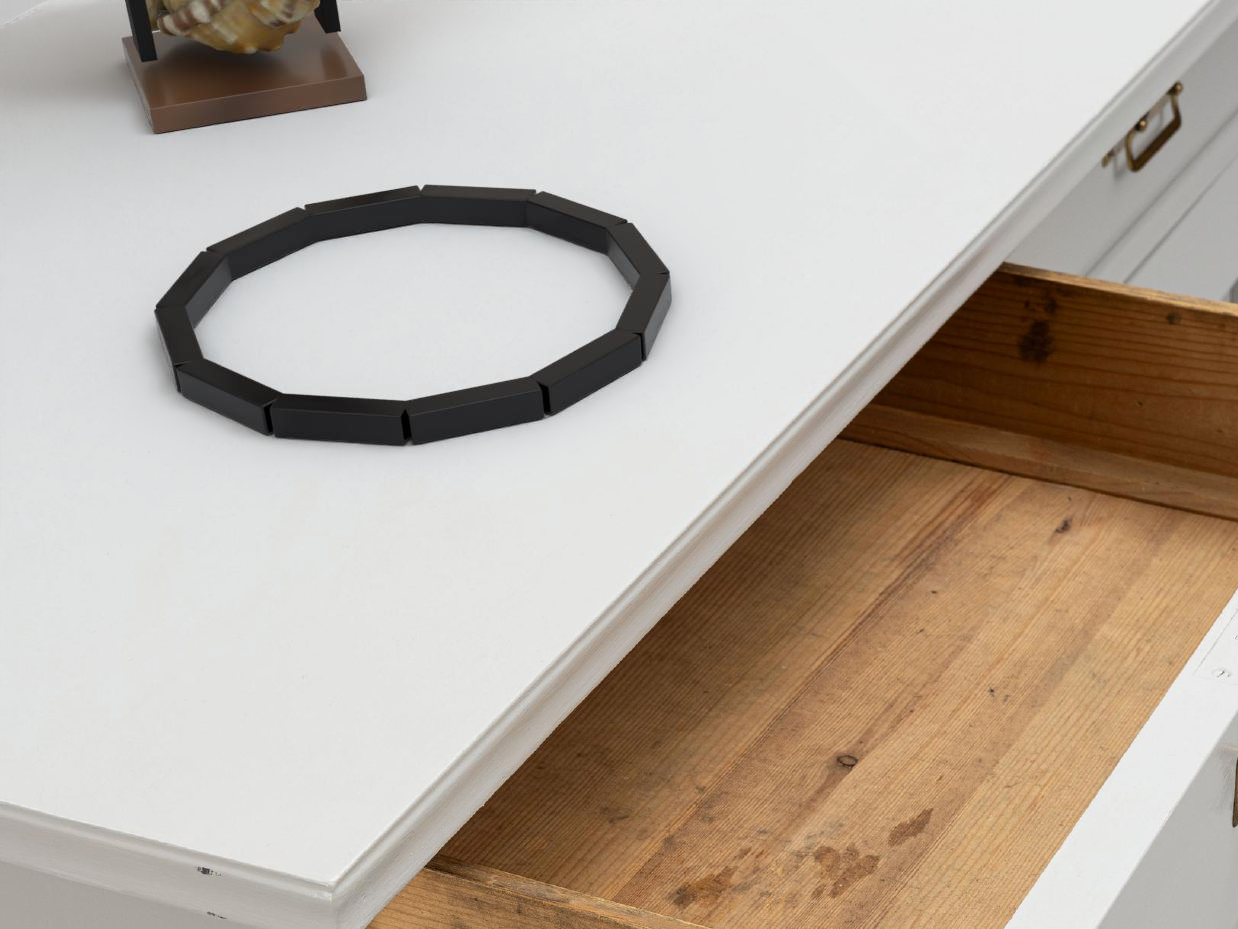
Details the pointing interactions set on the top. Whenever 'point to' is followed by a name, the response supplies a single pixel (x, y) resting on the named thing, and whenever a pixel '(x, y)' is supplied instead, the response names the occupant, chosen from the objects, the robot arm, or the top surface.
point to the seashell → (231, 21)
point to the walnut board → (243, 78)
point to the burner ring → (433, 412)
